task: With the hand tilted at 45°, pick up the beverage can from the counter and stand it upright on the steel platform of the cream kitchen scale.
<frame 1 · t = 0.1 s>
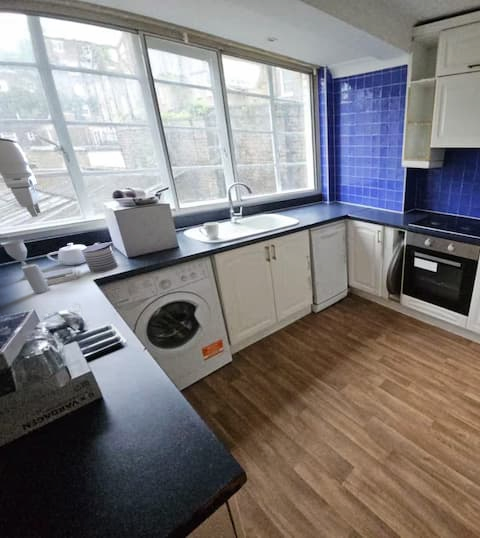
hand: (36, 214, 125), 31 cm above the table, tool pointing down, fingers open, 8 cm apart
teapot: (80, 262, 160), on the table
beverage can: (42, 291, 128), on the table
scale: (59, 278, 140), on the table
chalice: (30, 277, 143), on the table
can: (104, 268, 151), on the table
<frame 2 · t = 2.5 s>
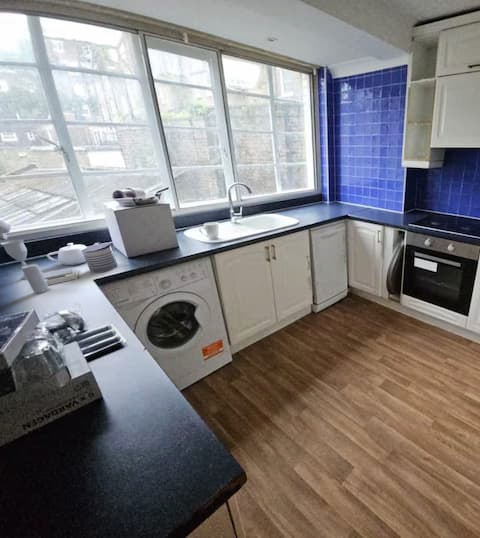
nothing on the table moved.
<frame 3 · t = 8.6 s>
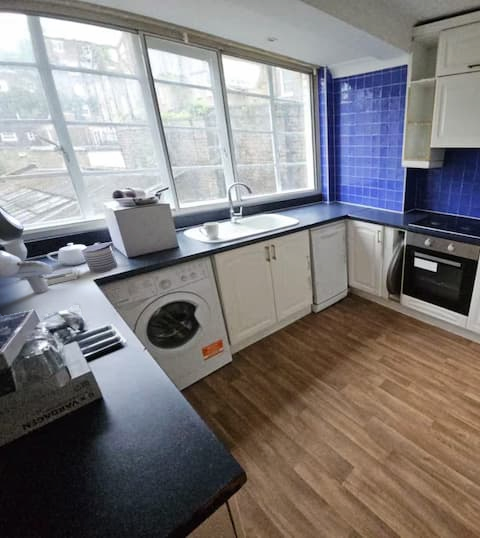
hand: (36, 277, 126), 7 cm above the table, tool tilted 45°, fingers closed on beverage can, 5 cm apart
beverage can: (42, 291, 128), on the table, touching gripper
everything else where it was.
when the fingers open (9 cm above the table, at t = 16.0 s): beverage can stays where it is, resting on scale.
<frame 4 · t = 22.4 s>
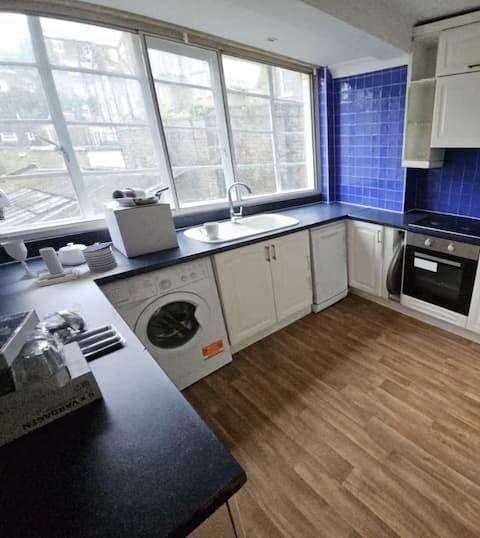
beverage can: (57, 273, 140), point 3 cm above the table, touching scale
everything else where it was.
at the end: beverage can inside the target area on the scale (0.2 cm from its centre), point 2.6 cm above the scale's base; beverage can tilted 0°; the gripper is holding nothing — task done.
